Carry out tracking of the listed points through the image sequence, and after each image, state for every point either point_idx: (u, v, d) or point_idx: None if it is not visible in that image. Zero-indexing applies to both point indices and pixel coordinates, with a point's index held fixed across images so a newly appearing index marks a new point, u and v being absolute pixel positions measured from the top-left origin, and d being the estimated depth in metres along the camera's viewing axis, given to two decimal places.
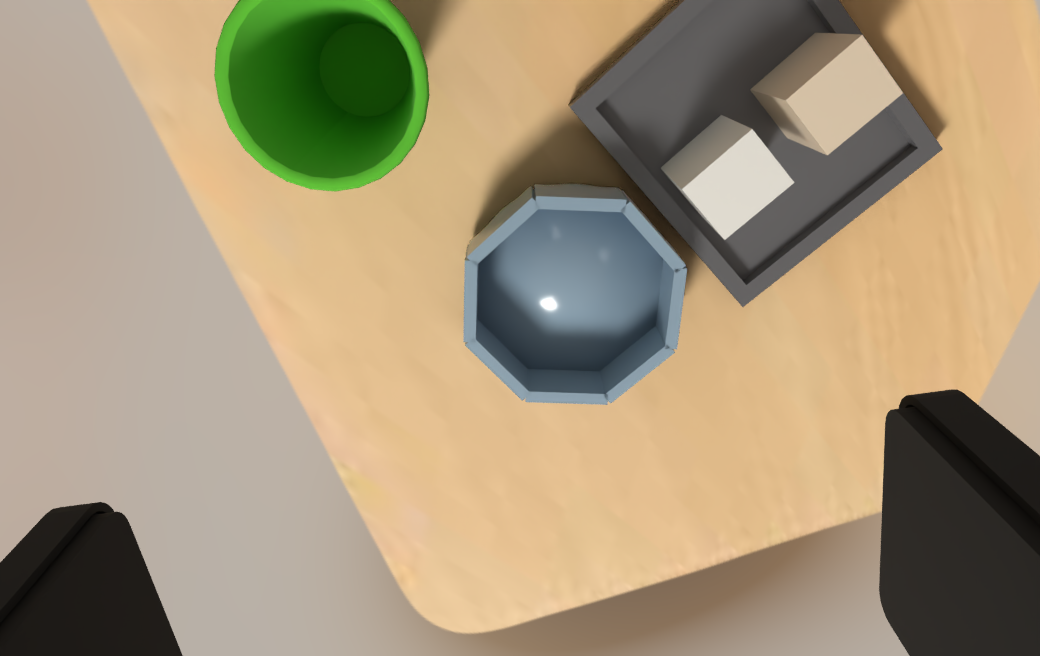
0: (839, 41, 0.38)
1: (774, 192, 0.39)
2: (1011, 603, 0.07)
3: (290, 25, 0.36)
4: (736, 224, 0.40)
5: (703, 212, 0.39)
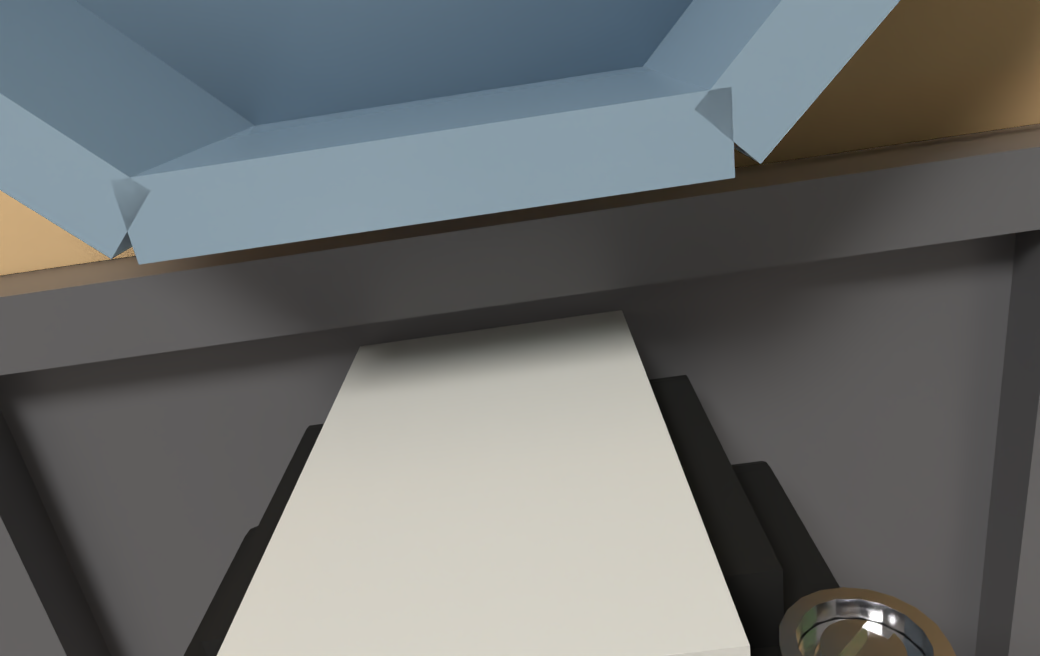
0: None
1: None
2: None
3: None
4: None
5: None
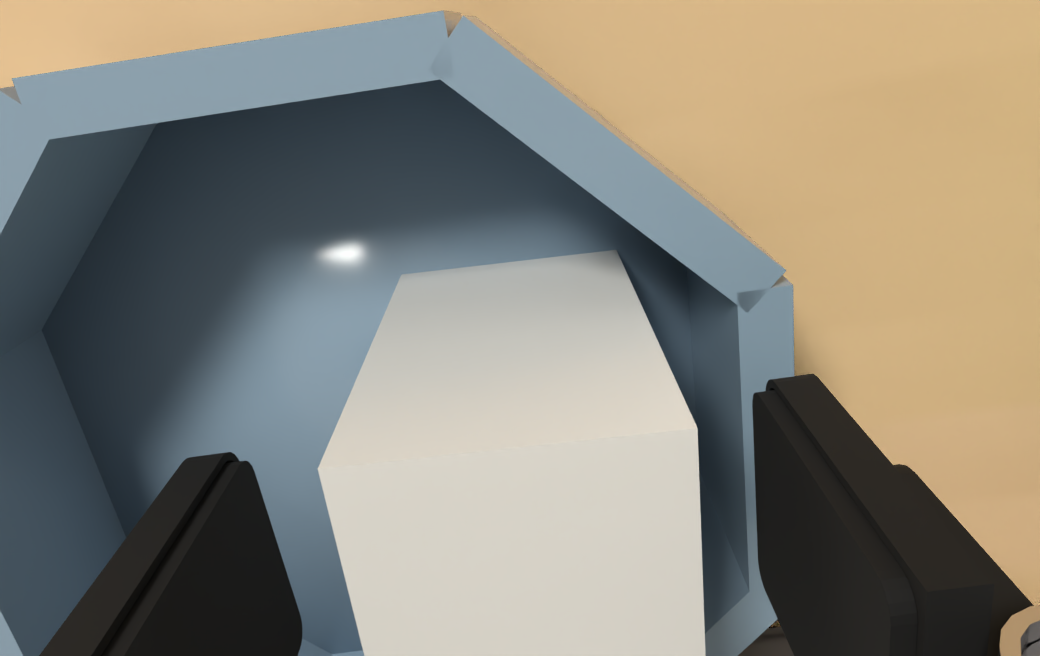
0: None
1: None
2: (827, 560, 0.07)
3: None
4: (362, 548, 0.08)
5: (517, 454, 0.07)
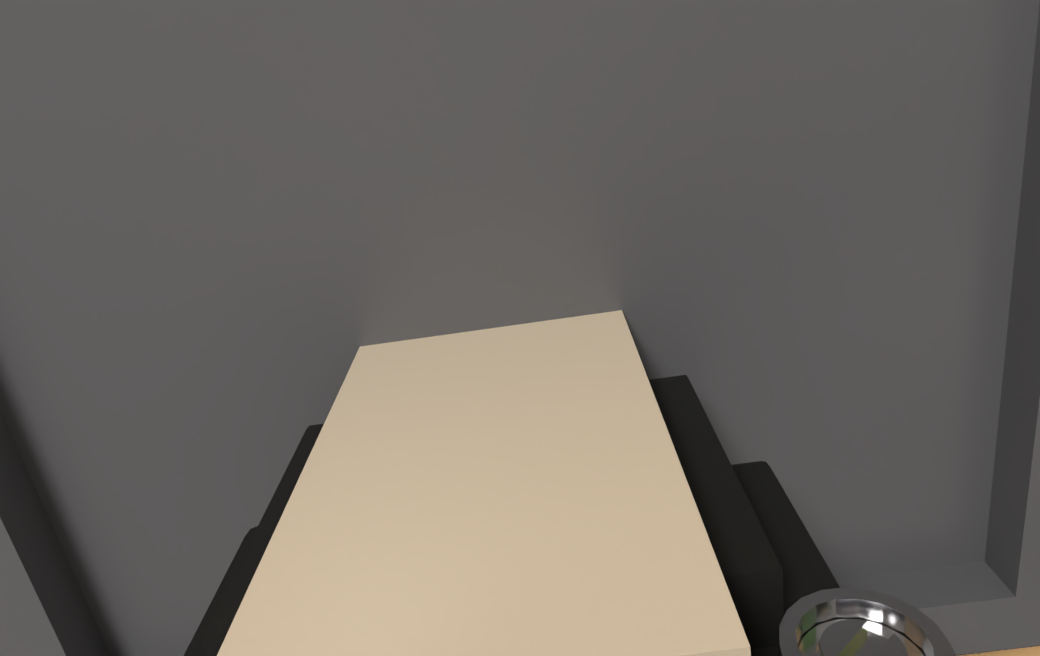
0: None
1: None
2: None
3: None
4: None
5: None
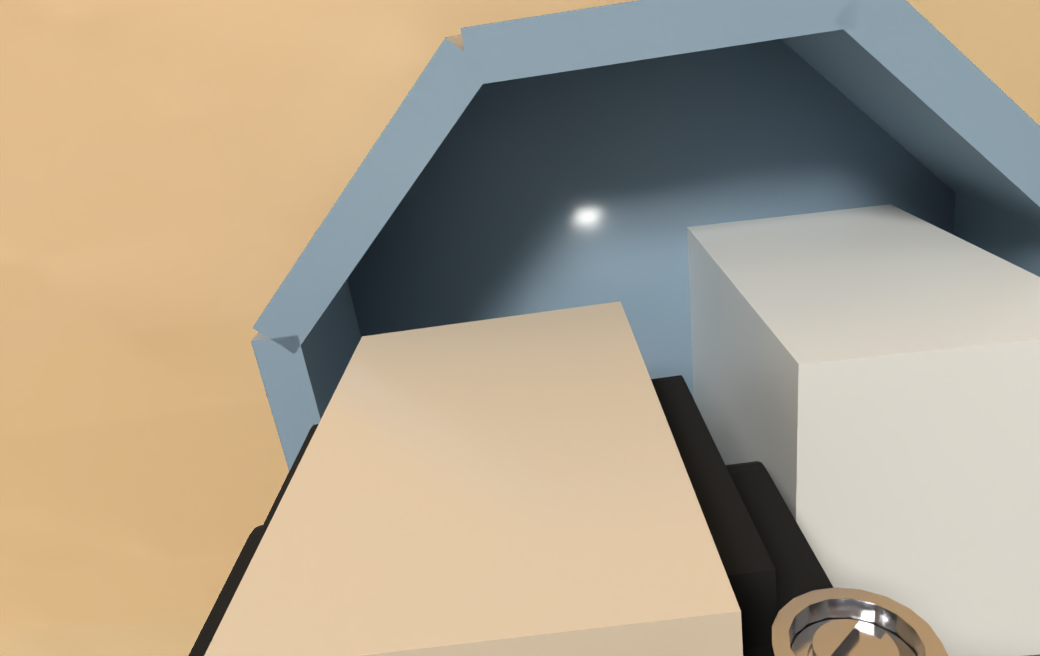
0: None
1: None
2: None
3: None
4: (820, 439, 0.09)
5: (978, 351, 0.08)
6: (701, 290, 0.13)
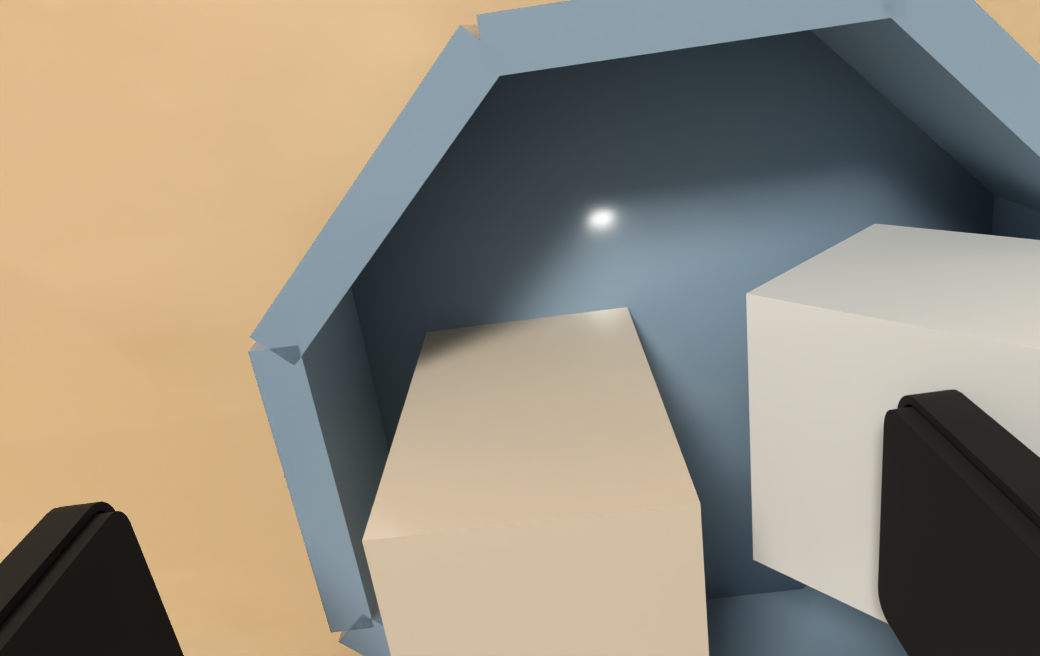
0: None
1: None
2: (1009, 603, 0.07)
3: None
4: None
5: None
6: (821, 369, 0.10)
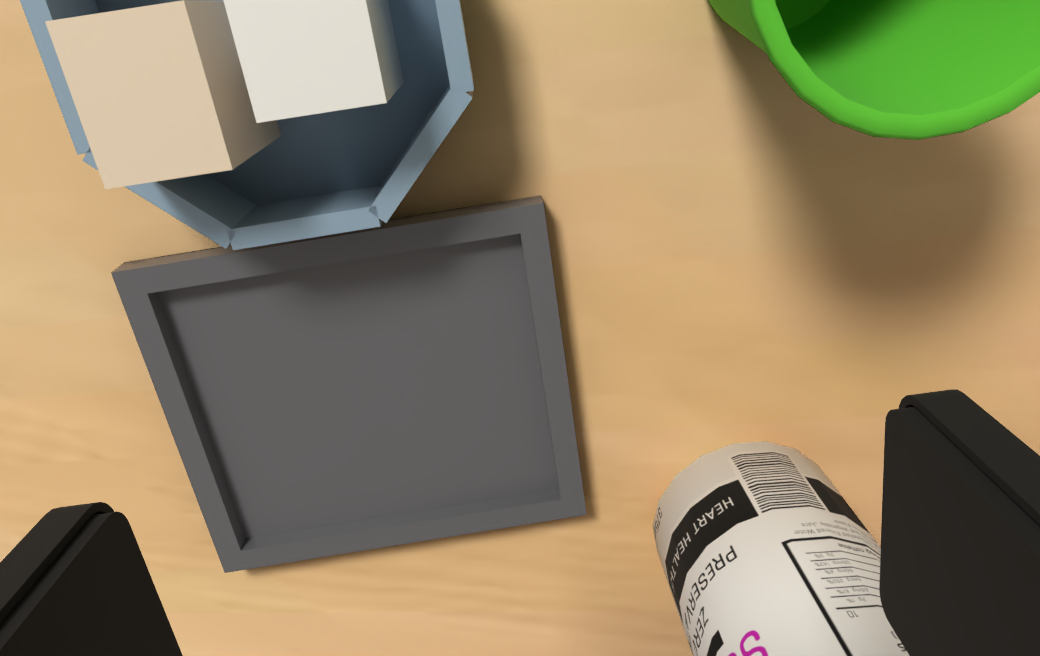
0: (243, 141, 0.23)
1: (256, 82, 0.21)
2: (1011, 603, 0.07)
3: None
4: None
5: None
6: None
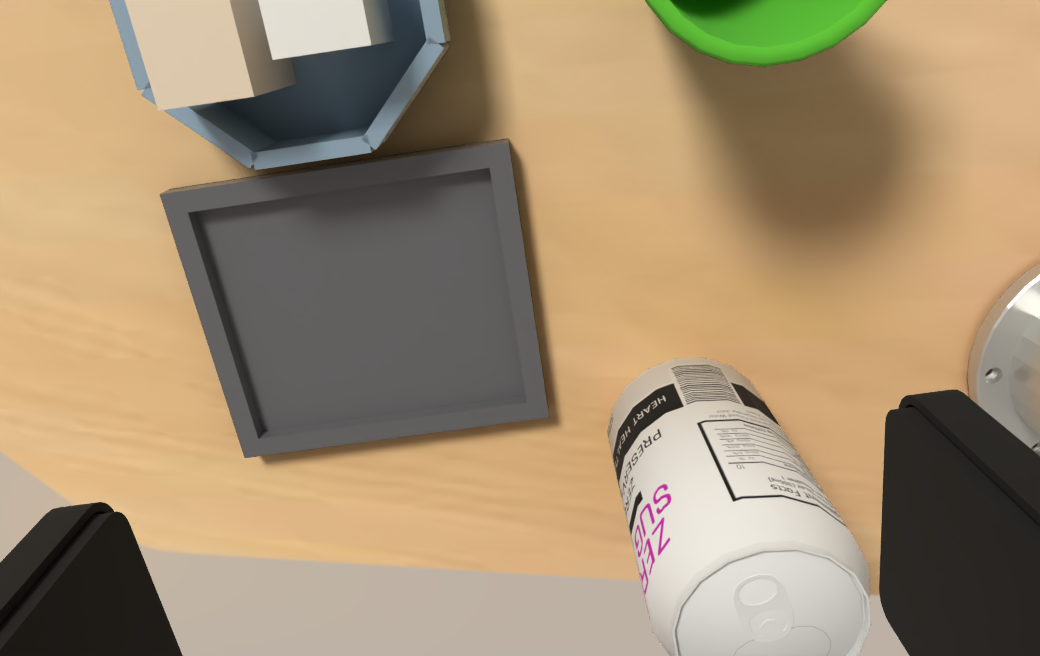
0: (263, 78, 0.29)
1: (272, 28, 0.27)
2: (1011, 603, 0.07)
3: None
4: None
5: None
6: None
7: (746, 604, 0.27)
